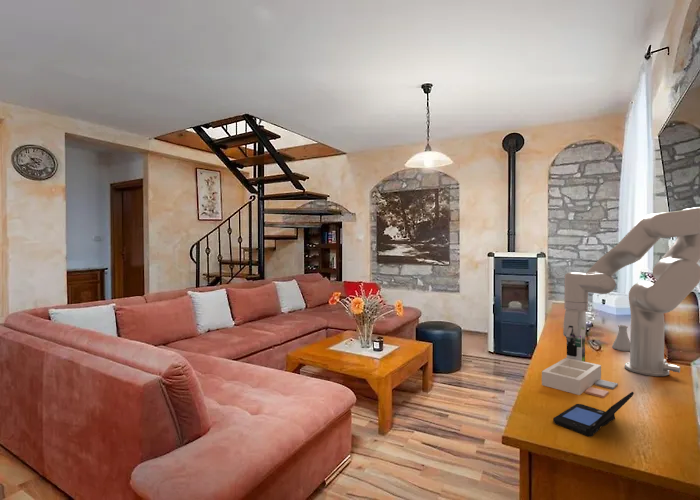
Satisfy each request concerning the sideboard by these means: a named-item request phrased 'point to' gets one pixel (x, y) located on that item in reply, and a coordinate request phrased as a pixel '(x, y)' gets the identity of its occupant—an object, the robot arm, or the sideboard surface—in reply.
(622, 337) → the flask
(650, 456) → the sideboard surface
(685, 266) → the robot arm
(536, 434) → the sideboard surface
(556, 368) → the socket block
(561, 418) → the game console
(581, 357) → the syrup box
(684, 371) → the sideboard surface
